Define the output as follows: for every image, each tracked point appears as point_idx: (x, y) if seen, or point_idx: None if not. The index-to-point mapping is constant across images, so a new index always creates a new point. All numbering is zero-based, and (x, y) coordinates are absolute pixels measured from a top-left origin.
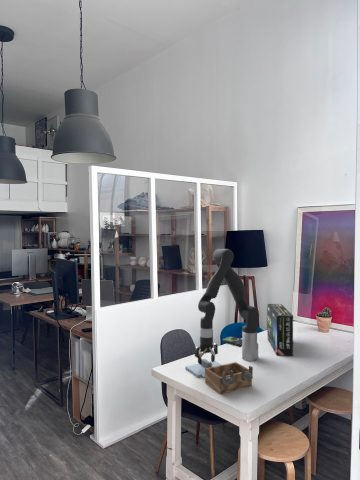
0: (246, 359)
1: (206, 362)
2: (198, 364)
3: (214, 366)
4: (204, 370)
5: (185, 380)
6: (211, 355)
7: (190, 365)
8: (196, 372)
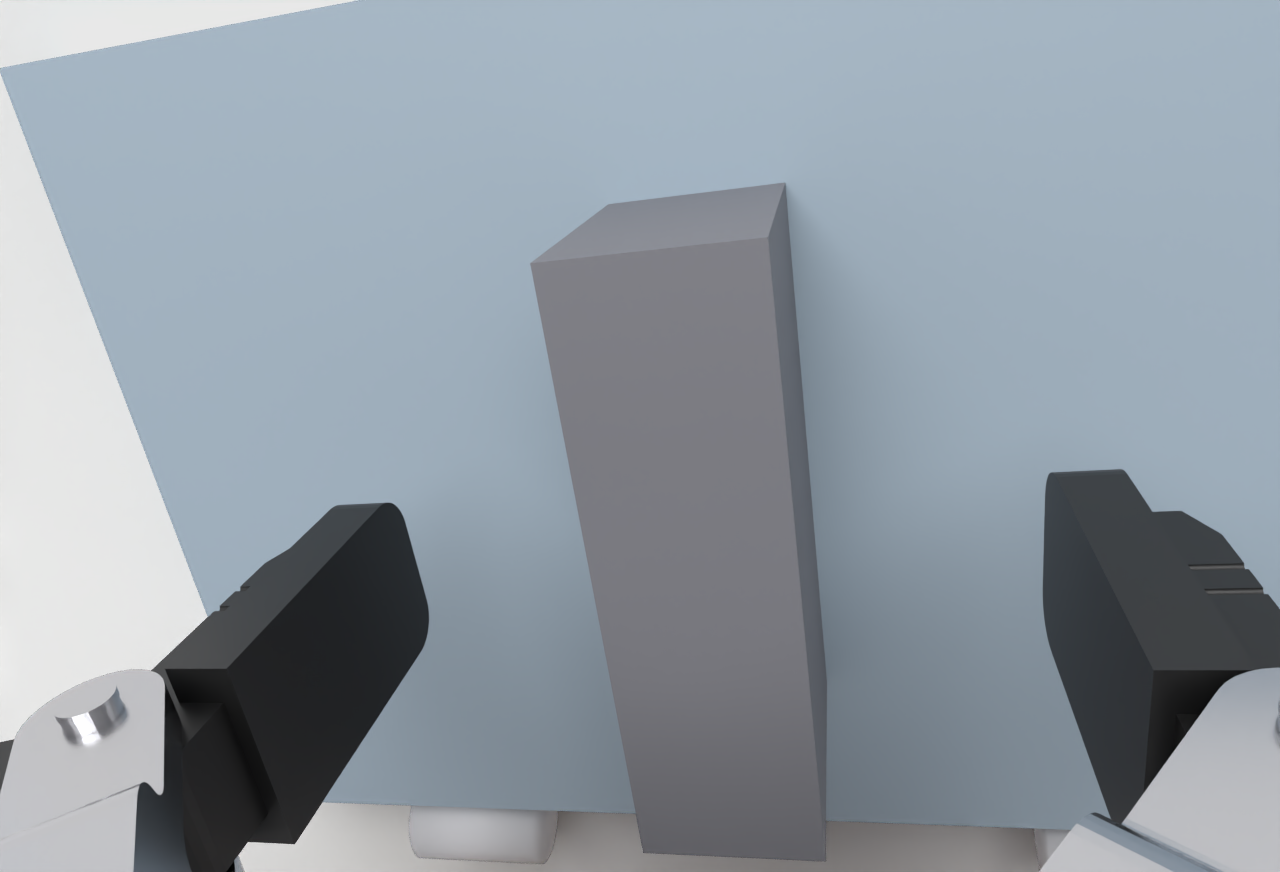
0: None
1: (636, 713)
2: (542, 47)
3: None
4: (558, 650)
5: None
6: (1140, 700)
7: (194, 37)
8: None
